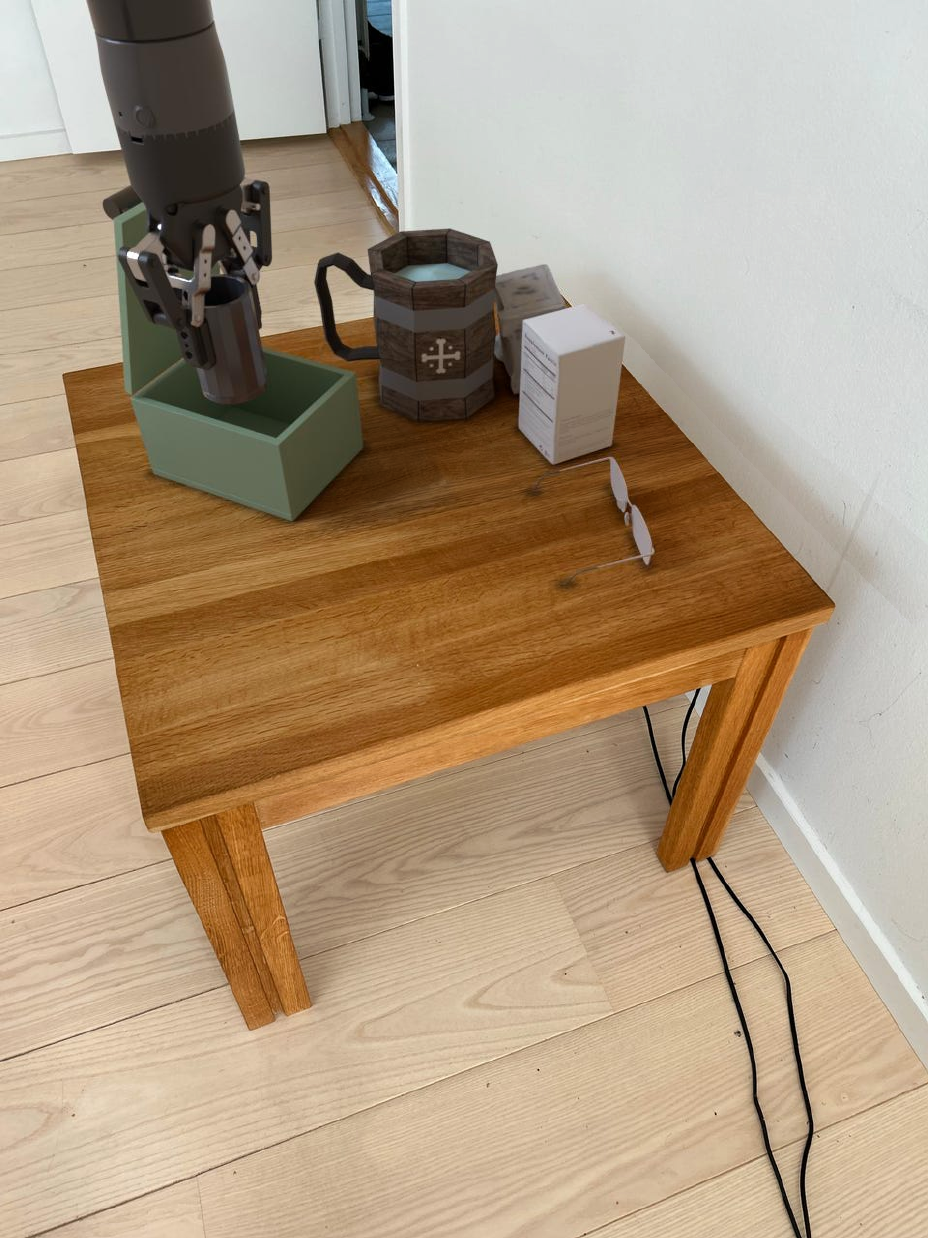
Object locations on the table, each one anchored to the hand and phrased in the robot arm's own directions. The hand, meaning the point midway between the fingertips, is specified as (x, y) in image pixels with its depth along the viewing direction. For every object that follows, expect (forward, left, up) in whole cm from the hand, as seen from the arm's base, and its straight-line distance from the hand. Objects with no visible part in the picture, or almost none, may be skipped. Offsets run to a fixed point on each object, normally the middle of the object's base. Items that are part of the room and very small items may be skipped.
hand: (225, 346), depth 71 cm
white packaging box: (+33, +3, -20) cm, 38 cm away
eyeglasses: (+28, -11, -20) cm, 36 cm away
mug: (+22, +19, -20) cm, 35 cm away
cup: (0, 0, -3) cm, 3 cm away
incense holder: (+35, +16, -20) cm, 43 cm away
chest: (+3, +12, -20) cm, 24 cm away
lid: (-1, +17, -2) cm, 17 cm away
